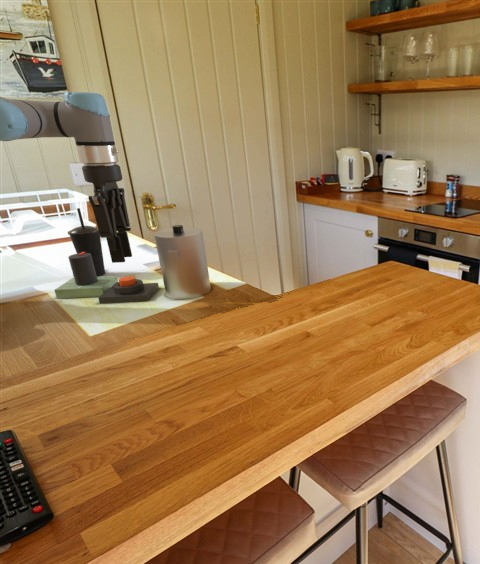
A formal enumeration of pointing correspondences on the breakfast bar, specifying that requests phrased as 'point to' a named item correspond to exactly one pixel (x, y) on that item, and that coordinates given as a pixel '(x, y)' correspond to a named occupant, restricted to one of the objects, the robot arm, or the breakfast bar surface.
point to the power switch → (127, 281)
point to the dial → (83, 268)
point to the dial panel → (85, 288)
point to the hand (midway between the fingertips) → (122, 259)
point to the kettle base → (129, 292)
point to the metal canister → (183, 262)
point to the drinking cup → (88, 244)
